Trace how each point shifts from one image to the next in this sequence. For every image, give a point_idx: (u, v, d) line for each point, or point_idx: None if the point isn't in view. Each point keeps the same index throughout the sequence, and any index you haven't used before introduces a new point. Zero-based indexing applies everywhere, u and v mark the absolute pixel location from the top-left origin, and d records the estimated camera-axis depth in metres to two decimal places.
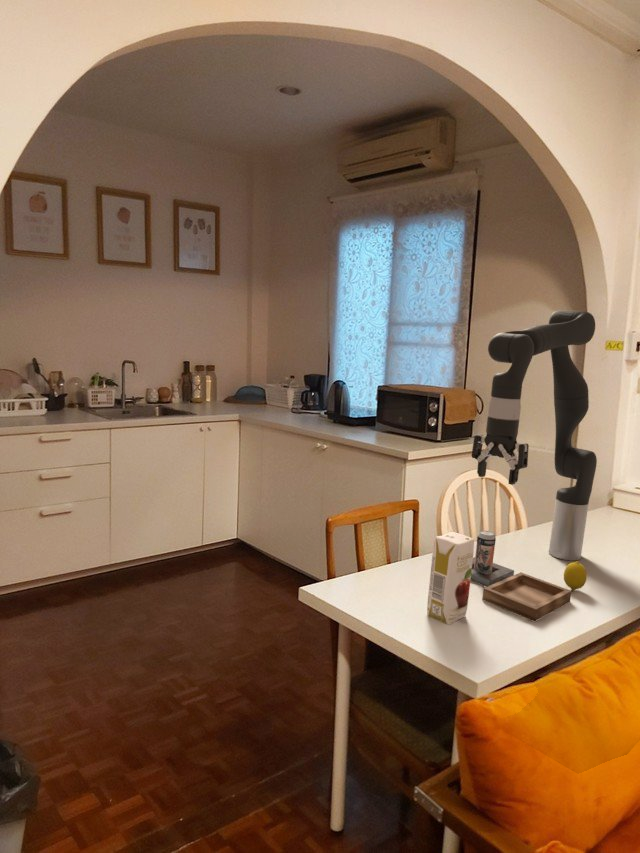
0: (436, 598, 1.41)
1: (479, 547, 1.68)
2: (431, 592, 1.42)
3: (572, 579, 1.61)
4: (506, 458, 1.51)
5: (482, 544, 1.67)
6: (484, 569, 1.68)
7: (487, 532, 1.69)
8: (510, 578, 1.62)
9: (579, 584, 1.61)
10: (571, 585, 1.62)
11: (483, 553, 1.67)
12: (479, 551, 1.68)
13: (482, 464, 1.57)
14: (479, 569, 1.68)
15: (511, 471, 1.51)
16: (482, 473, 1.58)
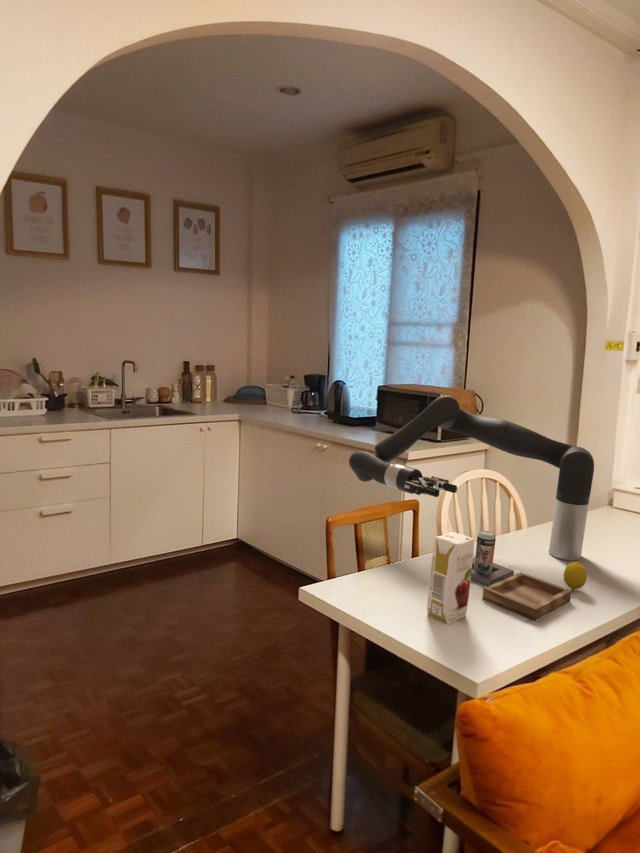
0: (436, 598, 1.41)
1: (479, 547, 1.68)
2: (431, 592, 1.42)
3: (572, 579, 1.62)
4: None
5: (482, 544, 1.67)
6: (484, 569, 1.68)
7: (487, 532, 1.69)
8: (510, 578, 1.62)
9: (579, 584, 1.61)
10: (571, 585, 1.62)
11: (483, 553, 1.67)
12: (479, 551, 1.68)
13: (445, 489, 1.82)
14: (479, 569, 1.68)
15: (428, 494, 1.77)
16: (452, 490, 1.80)
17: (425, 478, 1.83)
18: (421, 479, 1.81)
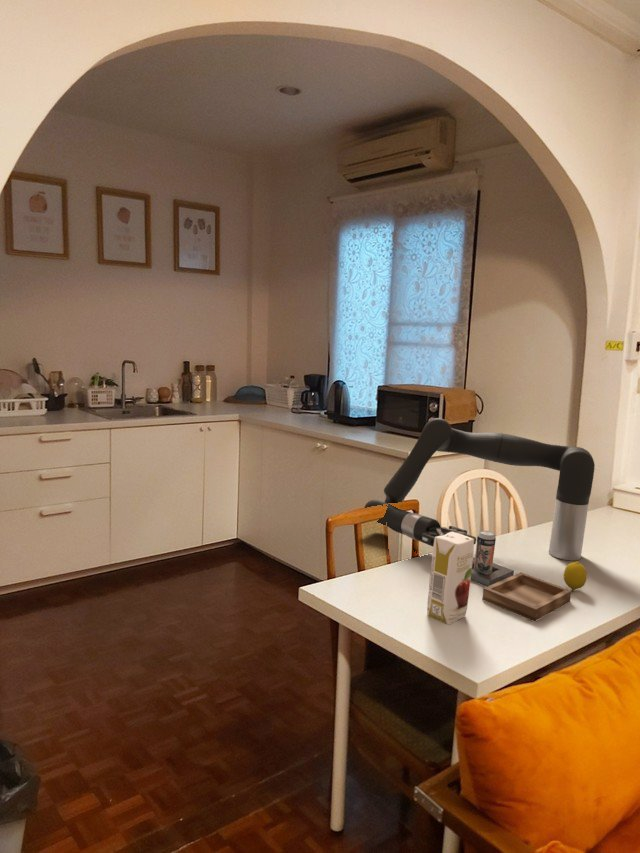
0: (436, 598, 1.41)
1: (479, 547, 1.68)
2: (431, 592, 1.42)
3: (572, 579, 1.62)
4: None
5: (482, 544, 1.67)
6: (484, 569, 1.68)
7: (487, 532, 1.69)
8: (510, 578, 1.62)
9: (579, 584, 1.61)
10: (571, 585, 1.62)
11: (483, 553, 1.67)
12: (479, 551, 1.68)
13: None
14: (479, 569, 1.68)
15: None
16: None
17: (443, 529, 1.80)
18: (439, 531, 1.78)
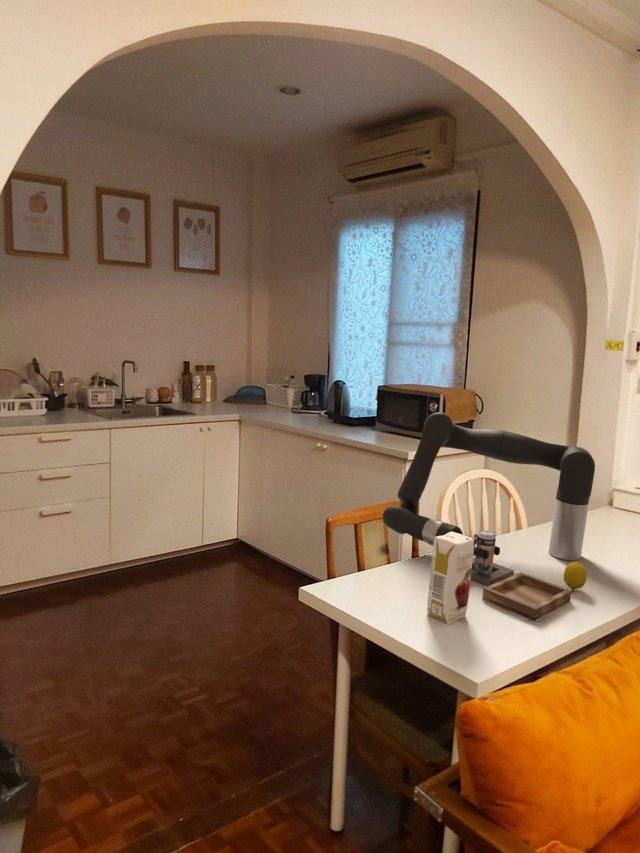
0: (436, 598, 1.41)
1: (479, 547, 1.68)
2: (431, 592, 1.42)
3: (572, 579, 1.61)
4: None
5: (482, 544, 1.67)
6: (484, 569, 1.68)
7: (487, 532, 1.69)
8: (510, 578, 1.62)
9: (579, 584, 1.61)
10: (571, 585, 1.62)
11: None
12: None
13: None
14: (479, 569, 1.68)
15: (476, 555, 1.68)
16: (495, 552, 1.70)
17: None
18: None
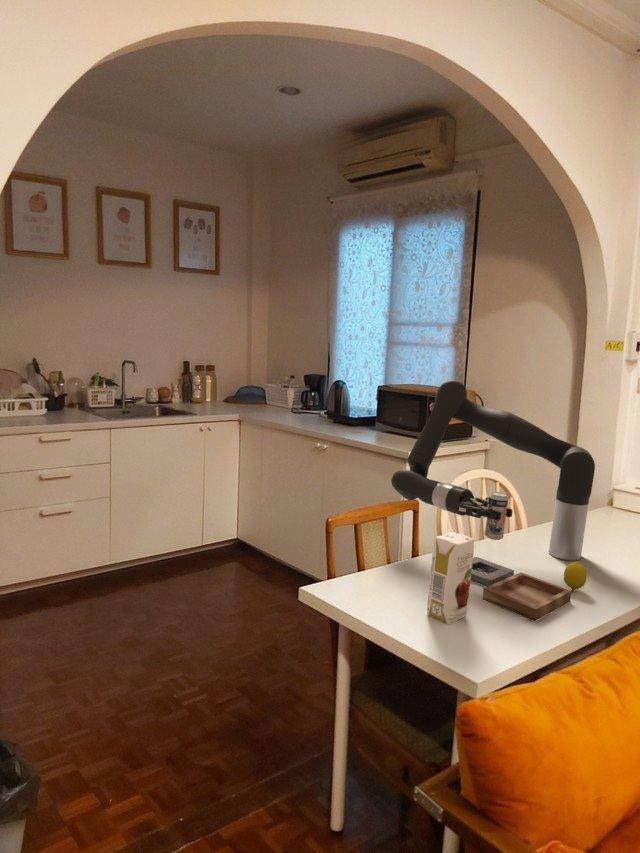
0: (436, 598, 1.41)
1: (491, 508, 1.64)
2: (431, 592, 1.42)
3: (572, 579, 1.61)
4: None
5: (494, 505, 1.63)
6: (496, 531, 1.64)
7: (499, 493, 1.65)
8: (510, 578, 1.62)
9: (579, 584, 1.61)
10: (571, 585, 1.62)
11: None
12: None
13: None
14: (491, 531, 1.64)
15: (488, 517, 1.64)
16: (507, 514, 1.65)
17: (477, 499, 1.70)
18: (475, 500, 1.68)
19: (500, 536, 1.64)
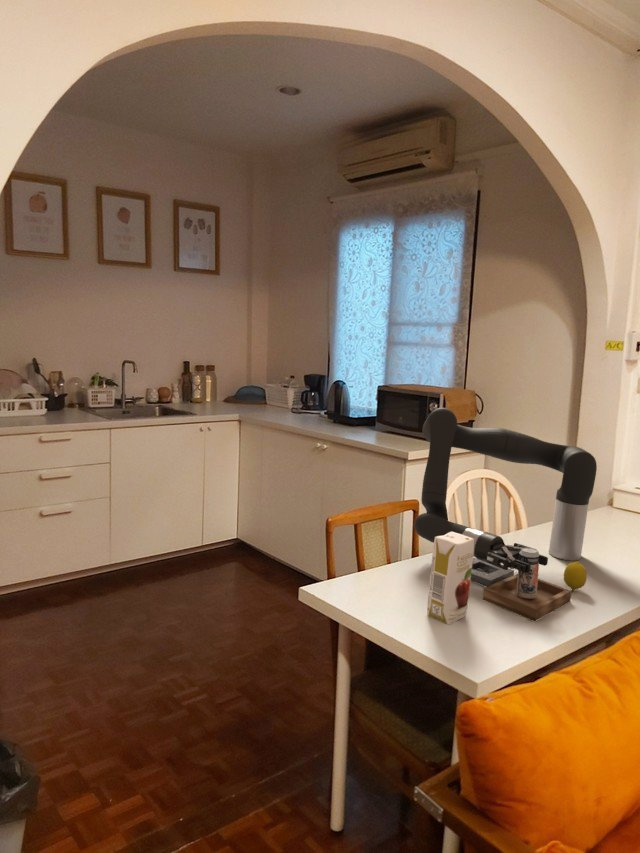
0: (436, 598, 1.41)
1: None
2: (431, 592, 1.42)
3: (572, 579, 1.61)
4: None
5: None
6: (529, 590, 1.53)
7: (529, 549, 1.55)
8: (510, 578, 1.62)
9: (579, 584, 1.61)
10: (571, 585, 1.62)
11: None
12: None
13: None
14: (523, 590, 1.54)
15: (516, 568, 1.52)
16: (542, 562, 1.56)
17: (509, 547, 1.59)
18: (505, 549, 1.57)
19: (533, 595, 1.53)
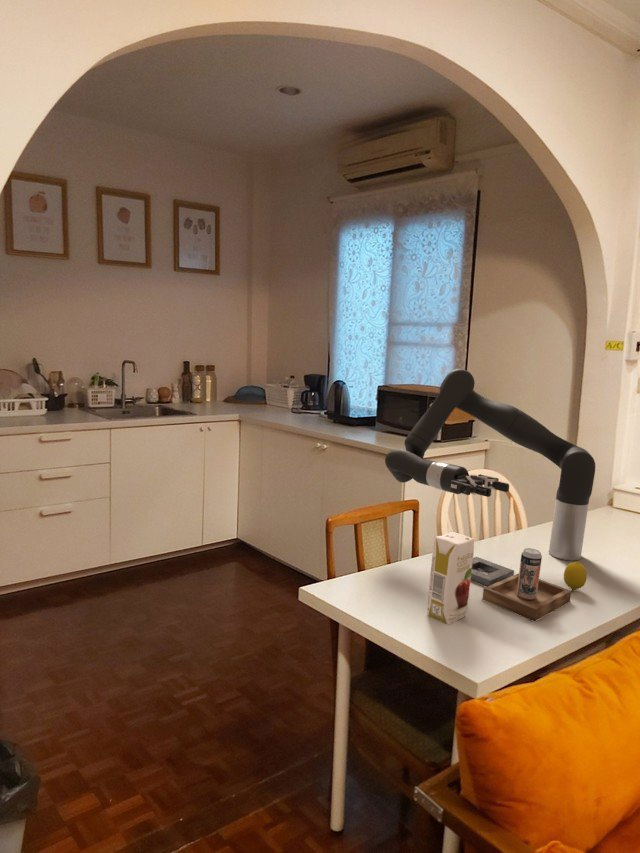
0: (436, 598, 1.41)
1: (524, 567, 1.53)
2: (431, 592, 1.42)
3: (572, 579, 1.61)
4: None
5: (527, 563, 1.52)
6: (529, 591, 1.53)
7: (532, 550, 1.54)
8: (510, 578, 1.62)
9: (579, 584, 1.61)
10: (571, 585, 1.62)
11: (528, 573, 1.52)
12: (524, 571, 1.53)
13: (496, 488, 1.65)
14: (524, 591, 1.53)
15: (478, 494, 1.59)
16: (504, 489, 1.63)
17: (473, 476, 1.66)
18: (469, 477, 1.64)
19: (534, 596, 1.53)
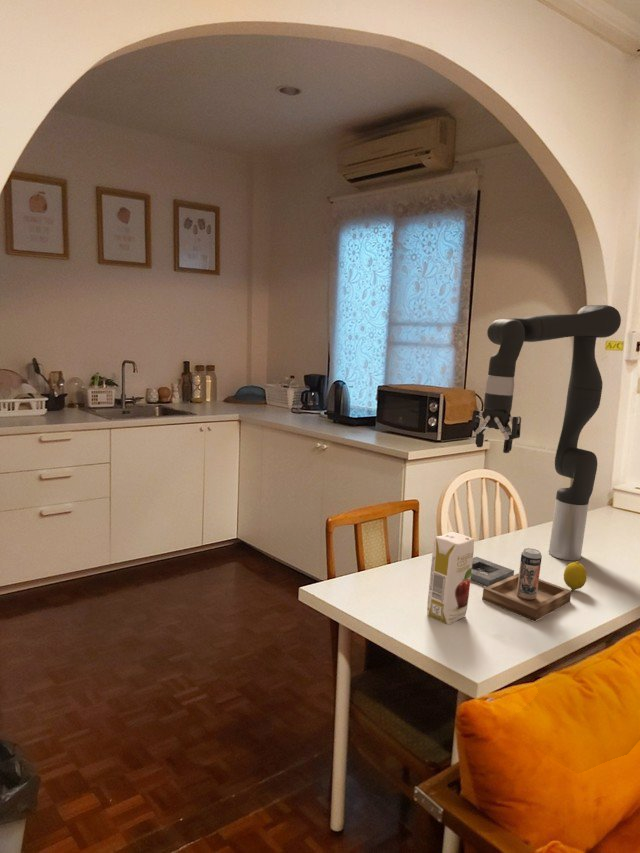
0: (436, 598, 1.41)
1: (524, 567, 1.53)
2: (431, 592, 1.42)
3: (572, 579, 1.61)
4: (501, 429, 1.71)
5: (527, 563, 1.52)
6: (529, 591, 1.53)
7: (532, 550, 1.55)
8: (510, 578, 1.62)
9: (579, 584, 1.61)
10: (571, 585, 1.62)
11: (528, 573, 1.52)
12: (524, 571, 1.53)
13: (480, 436, 1.77)
14: (524, 591, 1.53)
15: (505, 441, 1.71)
16: (480, 444, 1.77)
17: None
18: None
19: (534, 596, 1.53)
